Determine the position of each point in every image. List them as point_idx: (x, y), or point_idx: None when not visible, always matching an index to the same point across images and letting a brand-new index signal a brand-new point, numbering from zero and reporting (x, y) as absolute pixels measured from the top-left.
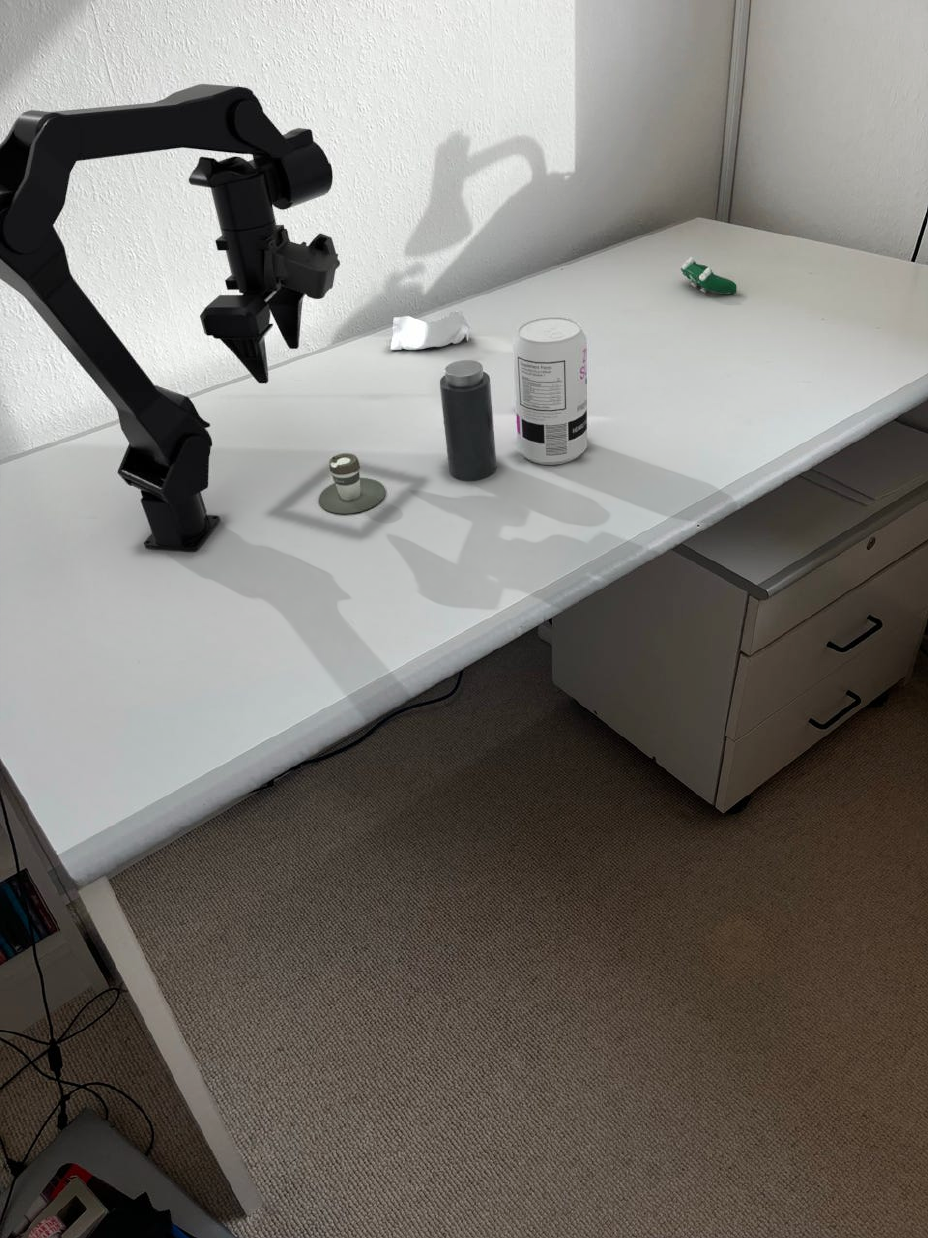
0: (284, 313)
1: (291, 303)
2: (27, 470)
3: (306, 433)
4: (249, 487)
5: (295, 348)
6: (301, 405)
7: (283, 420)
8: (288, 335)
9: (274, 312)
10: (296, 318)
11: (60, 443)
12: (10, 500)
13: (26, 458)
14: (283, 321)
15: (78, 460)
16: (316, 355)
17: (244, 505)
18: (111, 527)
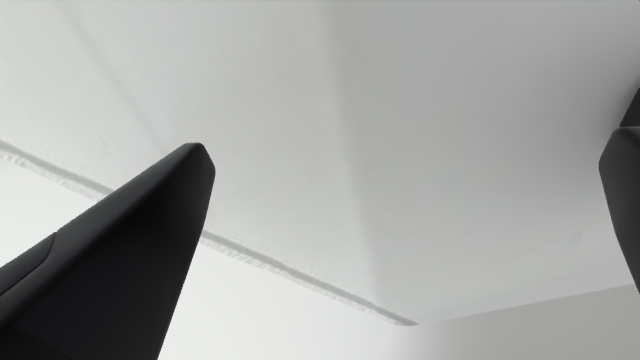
0: (122, 316)
1: (34, 357)
2: (438, 312)
3: (251, 37)
4: (501, 50)
5: (204, 149)
6: (164, 99)
7: (227, 106)
8: (189, 211)
9: (150, 345)
10: (97, 249)
11: (376, 306)
12: (509, 307)
13: (412, 318)
14: (156, 280)
15: (412, 286)
16: (23, 148)
17: (593, 22)
18: None
